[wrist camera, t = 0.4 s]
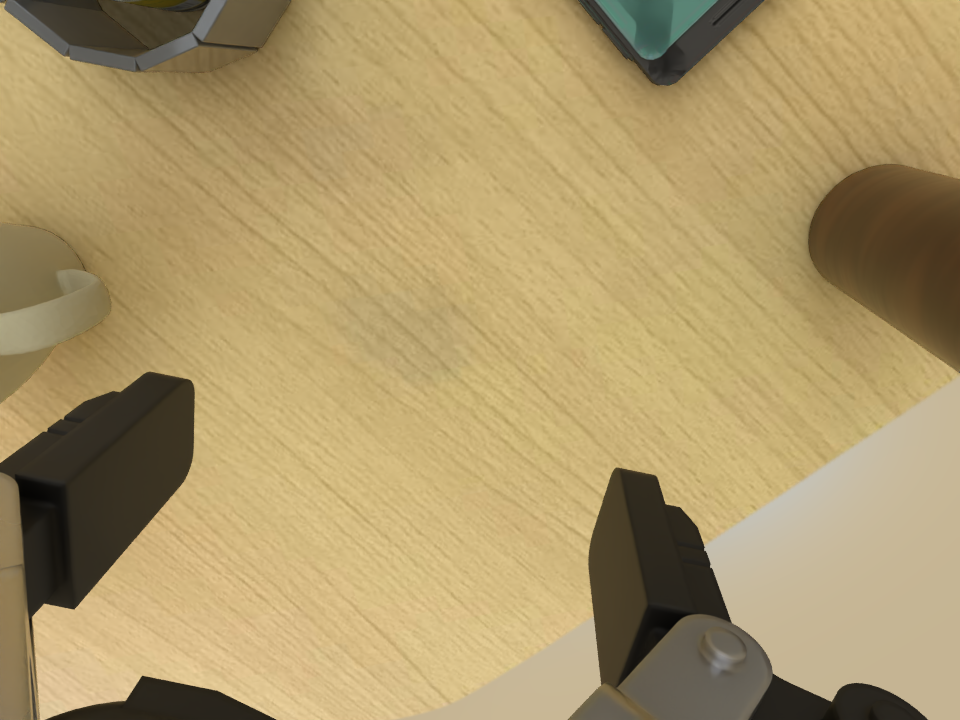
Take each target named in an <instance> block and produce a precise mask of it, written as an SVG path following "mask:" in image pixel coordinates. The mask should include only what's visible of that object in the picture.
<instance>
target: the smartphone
mask: <svg viewBox="0 0 960 720" xmlns="http://www.w3.org/2000/svg"><path fill="white" fill-rule="evenodd" d="M578 1H579V2H580V4H581V5H582V6H583V7H584V8H585V10H586V11H587V12H588V13H589V14H590V16H591V17H592V18H593V19H594V21H595V22H596V23H597V24H598V25H600V24H601V25H602V26H603V28H602V30H603V31H604V33H605V34H606V35H607V36H608V38H609V39H610V40H611V41H612V42H613V44H614V45H615V46H616V47H617V48H618V50H619V51H620V52H621V53H622V55H623V56H624V57H625V58H626V59H628V58H629V59H630V60H631V61H634V62H635V63H636V64H637V65H638V67H639V68H640V69H641V70H642V71H643V73H644V74H645V75H646V76H647V78H648V79H649V80H650V81H651V82H652V83H654V84H656V85H671V84H674V83H676V82H677V81H678V80H679V79H681V78H682V77H683V76H684V75H685V74H686V73H687V72H688V71H689V70H690V69H691V68H692V67H693V66H694V65H696V64H697V63H698V62H699V61H700V60H701V59H702V58H703V57H704V56H705V55H706V54H707V53H708V52H709V51H711V50H712V49H713V48H714V47H715V46H716V45H717V44H718V43H719V42H720V41H721V40H722V39H723V38H725V37H726V36H727V35H728V34H729V33H730V32H731V31H732V30H733V29H734V28H735V27H736V26H737V25H738V24H740V23H741V22H742V21H743V20H744V19H745V18H746V17H747V16H748V15H749V14H750V13H751V12H752V11H753V10H755V9H756V8H757V7H758V6H759V5H760V4H761V3H762V2H763V1H764V0H578Z"/></svg>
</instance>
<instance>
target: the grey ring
mask: <svg viewBox="0 0 960 720" xmlns="http://www.w3.org/2000/svg"><path fill="white" fill-rule="evenodd" d="M290 2H291V0H210V1H209V3H208V5H207V6H206V8H205V10H204V12H203V13H202V15H201V17H200V19H199V20H198V22H197V24H196V25H195V27H194V29H193V31H192V32H190V33H188V34H186V35H183V36H181V37H179V38H177V39H174V40H172V41H170V42H168V43H166V44H163V45H161V46H159V47H157V48H154V49H152V50H149V49H148V48H147V47H146V46H145V45H143V44H142V43H141V42H140V41H138V40H137V39H136V38H135V37H134V36H132V35H131V34H130V33H129V32H127V31H126V30H125V29H124V28H123V27H121V26H120V25H119V24H118V23H116V22H115V21H114V20H113V19H112V18H110V17H109V16H108V15H107V14H105V13H104V12H103V11H102V9H101V7H100V5H99V3H98V1H97V0H0V3H5V4H6V5H5V7H4V9H5V10H6V11H8V12H9V13H10V14H11V15H13V16H14V17H15V18H16V19H18V20H19V21H20V22H21V23H23V24H24V25H25V26H26V27H28V28H29V29H30V30H31V31H33V32H34V33H35V34H36V35H38V36H39V37H40V38H42V39H43V40H44V41H45V42H47V43H48V44H49V45H50V46H52V47H53V48H54V49H55V50H57V51H58V52H59V53H60V54H62V55H63V56H68V57H70V59H71V60H75V61H80V62H85V63H90V64H95V65H101V66H106V67H111V68H116V69H121V70H127V71H132V72H171V73H204V72H211V71H214V70H216V69H218V68H221V67H223V66H225V65H228V64H230V63H232V62H235V61H237V60H239V59H242V58H244V57H246V56H248V55H251V54H253V53H255V52H257V49H256V48H262V46H263V45H264V43H265V41H266V40H267V38H268V37H269V35H270V34H271V32H272V30H273V29H274V27H275V26H276V24H277V22H278V21H279V19H280V18H281V16H282V14H283V13H284V11H285V10H286V8H287V6H288V5H289V3H290Z"/></svg>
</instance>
